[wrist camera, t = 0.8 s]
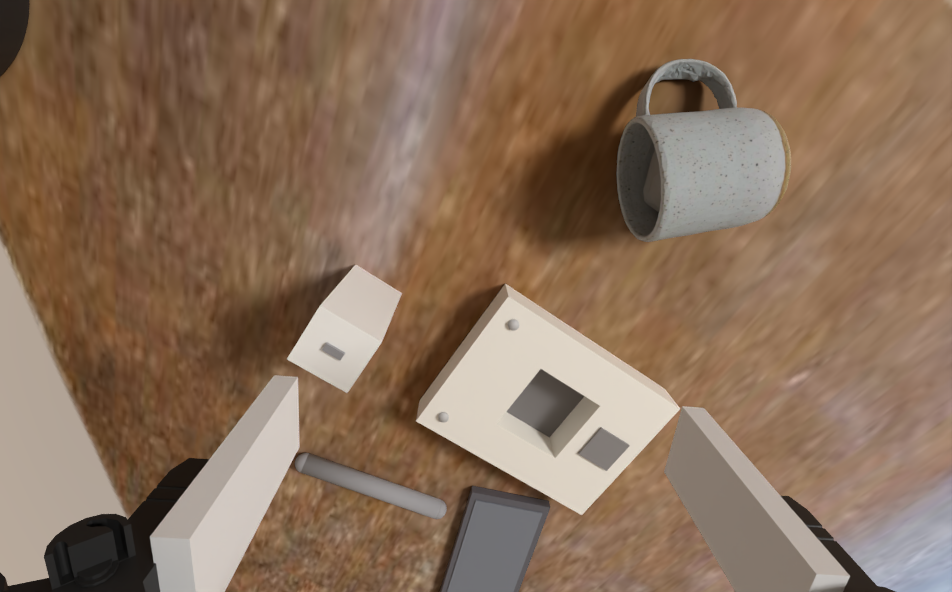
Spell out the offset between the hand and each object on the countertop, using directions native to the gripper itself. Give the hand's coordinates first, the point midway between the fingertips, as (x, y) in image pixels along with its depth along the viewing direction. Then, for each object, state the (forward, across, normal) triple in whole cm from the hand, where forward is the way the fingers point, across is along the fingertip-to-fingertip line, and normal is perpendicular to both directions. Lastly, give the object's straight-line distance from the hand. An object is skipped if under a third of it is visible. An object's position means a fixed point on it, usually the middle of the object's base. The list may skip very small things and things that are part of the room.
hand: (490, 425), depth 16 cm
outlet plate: (+20, +6, -10) cm, 23 cm away
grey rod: (+20, -7, -20) cm, 29 cm away
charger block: (+20, -8, -3) cm, 22 cm away
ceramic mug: (+20, +12, +10) cm, 26 cm away
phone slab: (+20, +4, -27) cm, 34 cm away
